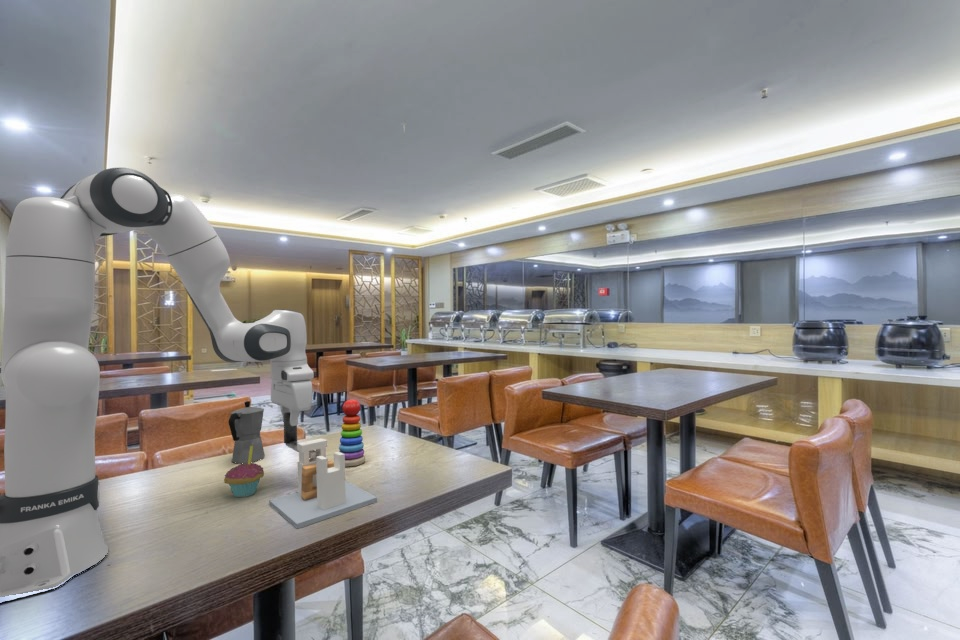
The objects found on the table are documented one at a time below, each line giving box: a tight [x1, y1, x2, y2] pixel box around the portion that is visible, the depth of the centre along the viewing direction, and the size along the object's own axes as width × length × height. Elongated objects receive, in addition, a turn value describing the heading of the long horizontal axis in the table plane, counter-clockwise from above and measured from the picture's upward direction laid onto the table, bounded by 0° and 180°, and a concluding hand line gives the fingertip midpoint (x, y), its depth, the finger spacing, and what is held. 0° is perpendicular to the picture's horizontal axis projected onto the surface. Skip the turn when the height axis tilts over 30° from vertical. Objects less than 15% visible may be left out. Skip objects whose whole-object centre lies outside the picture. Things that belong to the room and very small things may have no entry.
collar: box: [301, 460, 334, 500], centre depth 100 cm, size 7×2×7 cm, turn 133°
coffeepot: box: [228, 400, 265, 464], centre depth 132 cm, size 15×9×18 cm, turn 178°
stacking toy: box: [338, 398, 366, 468], centre depth 127 cm, size 8×8×19 cm
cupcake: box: [223, 443, 265, 498], centre depth 105 cm, size 9×8×12 cm
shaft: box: [283, 412, 318, 459], centre depth 108 cm, size 3×17×9 cm, turn 43°
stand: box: [268, 438, 378, 529], centre depth 98 cm, size 18×17×13 cm
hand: (290, 424), depth 113 cm, fingers closed on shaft, 3 cm apart
